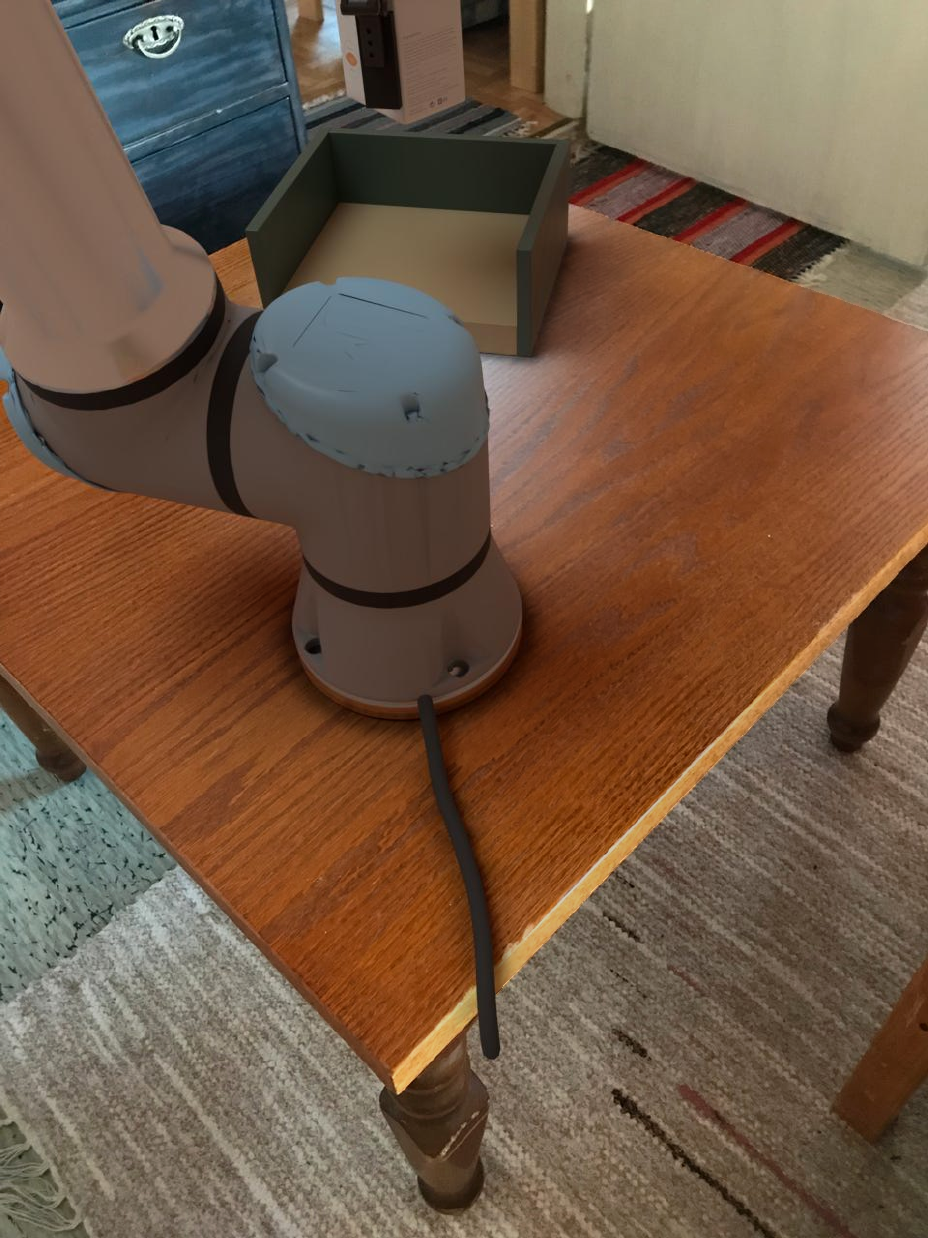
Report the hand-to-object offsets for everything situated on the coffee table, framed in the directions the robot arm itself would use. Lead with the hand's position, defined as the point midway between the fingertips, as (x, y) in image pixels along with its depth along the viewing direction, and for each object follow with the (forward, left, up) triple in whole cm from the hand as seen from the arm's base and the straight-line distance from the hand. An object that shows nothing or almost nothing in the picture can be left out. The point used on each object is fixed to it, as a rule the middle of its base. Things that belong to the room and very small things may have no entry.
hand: (402, 79), depth 78 cm
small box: (0, 0, -2) cm, 2 cm away
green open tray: (+2, 0, -20) cm, 20 cm away
